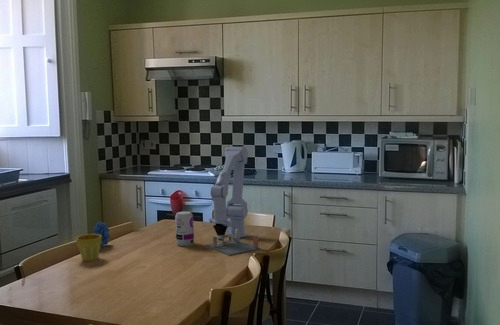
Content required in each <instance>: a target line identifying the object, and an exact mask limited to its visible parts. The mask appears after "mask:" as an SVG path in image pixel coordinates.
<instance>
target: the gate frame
mask: <svg viewBox="0 0 500 325" xmlns="http://www.w3.org/2000/svg"><path fill="white" fill-rule="evenodd" d="M235 234H236V238H235V242H236V243H232V244H227V245H222V246H217V247H214V246H213V242H211V243H206V244H205V246H206V247H208V248H210V249H212V250H215V251H217V252H220V253H222V254H225V255H226V256H234V255H235V256H236V255H240V254H245V253H249V252H254V251H258V250H261V248H260V247H259V235H257V234H254V235H252V241H253V242H252V244H250V243H248V242H245V241H243V240H240V238H241V237H239V229H235ZM228 241H229V239H228V240H224V242H228ZM231 241H233V238H231ZM217 243H222V242H221V241H217Z"/></svg>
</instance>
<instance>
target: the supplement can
mask: <svg viewBox="0 0 500 325" xmlns="http://www.w3.org/2000/svg"><path fill="white" fill-rule="evenodd" d="M174 218H175V219H174V220H175V221H174V222H175V239H176V240H175V242H176V244H177V245H178V246H179V247H188V246H192V245H193V244H194V243H195V230H194V215H193V213H192V211H189V210H188V211H185V210H183V211H178V212H175V217H174Z"/></svg>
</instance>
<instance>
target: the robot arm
mask: <svg viewBox="0 0 500 325" xmlns="http://www.w3.org/2000/svg"><path fill="white" fill-rule="evenodd" d="M248 152H249V151H248V149H247V148H246V146H227V147H226V148H225V151H224V157H225V161H224V165H223V169H222V171H220V172H219V174H218V176H217V179H216V181H215V183H214V185H212V186H211V188H210V196H211V200H212V202H213V217H210V218H209V219H208V220H209V221H208V222H209V223H210V224H214V225H212V227H213V229H214V230H215V234H216V235H217V236H221V235H226V234H231V233H235V229H239V237H240V238H244V237H249V234H247V233H245V218H247V216H248V211H249V209H248V203H247V201H245V199H243V191H244V190H243V188H244V179H245V178H244V176H245V165H246V164H248V156H249V153H248ZM232 170H233V179H232V194H231V195H232V196H231V198H230V199H229V200H228V201H227V199H226V198H227V196H228V194H229V184H230V181H231V178H232V176H231V173H232ZM231 239H233V236H232V237H231ZM235 239H236V234H235ZM217 241H219V242H221V239H217Z"/></svg>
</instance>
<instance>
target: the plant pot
mask: <svg viewBox="0 0 500 325" xmlns="http://www.w3.org/2000/svg"><path fill="white" fill-rule="evenodd" d="M75 240H76V241H75V242H76V246H77V247H78V250H79V253H80V256H81V260H82V261H84V262H91V261H95V260H98V259H99V256H100V248H101V247H100V244H102V236H101V235H99V234H93V233H88V234H82V235H79V236H77V237H76V239H75Z"/></svg>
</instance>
